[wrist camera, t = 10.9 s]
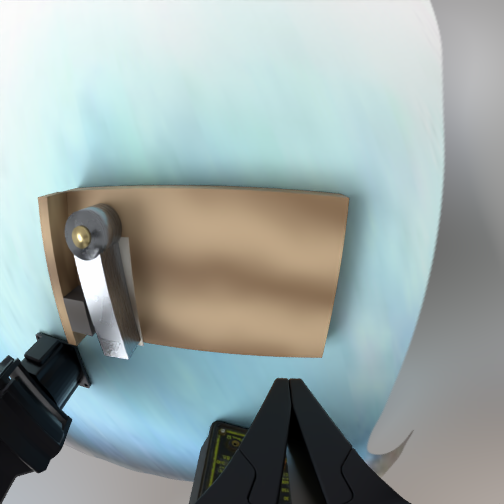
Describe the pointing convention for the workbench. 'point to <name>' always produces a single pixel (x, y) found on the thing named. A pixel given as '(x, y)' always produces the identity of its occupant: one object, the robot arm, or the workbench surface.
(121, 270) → the bar
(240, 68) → the workbench surface
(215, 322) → the door board
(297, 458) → the robot arm
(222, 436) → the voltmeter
